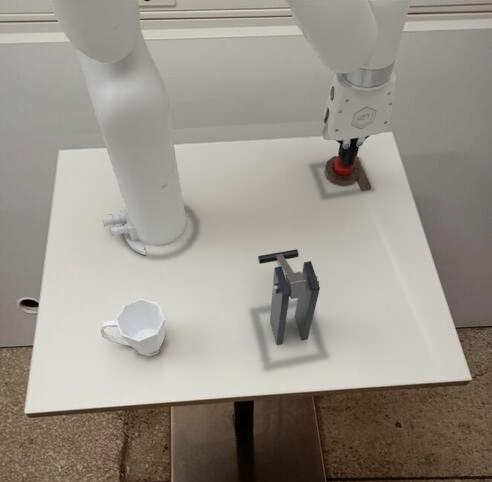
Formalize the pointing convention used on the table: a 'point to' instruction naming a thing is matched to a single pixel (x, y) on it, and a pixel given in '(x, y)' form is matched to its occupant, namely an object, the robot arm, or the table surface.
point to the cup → (139, 326)
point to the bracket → (304, 304)
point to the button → (342, 168)
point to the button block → (357, 176)
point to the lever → (288, 272)
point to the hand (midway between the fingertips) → (346, 159)
